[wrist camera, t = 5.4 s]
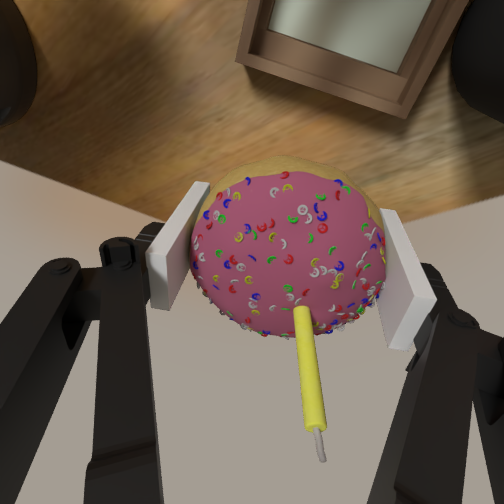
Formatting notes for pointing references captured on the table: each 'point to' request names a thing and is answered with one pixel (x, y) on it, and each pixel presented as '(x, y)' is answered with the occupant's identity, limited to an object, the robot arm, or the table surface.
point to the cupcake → (290, 258)
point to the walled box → (350, 46)
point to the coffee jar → (481, 58)
